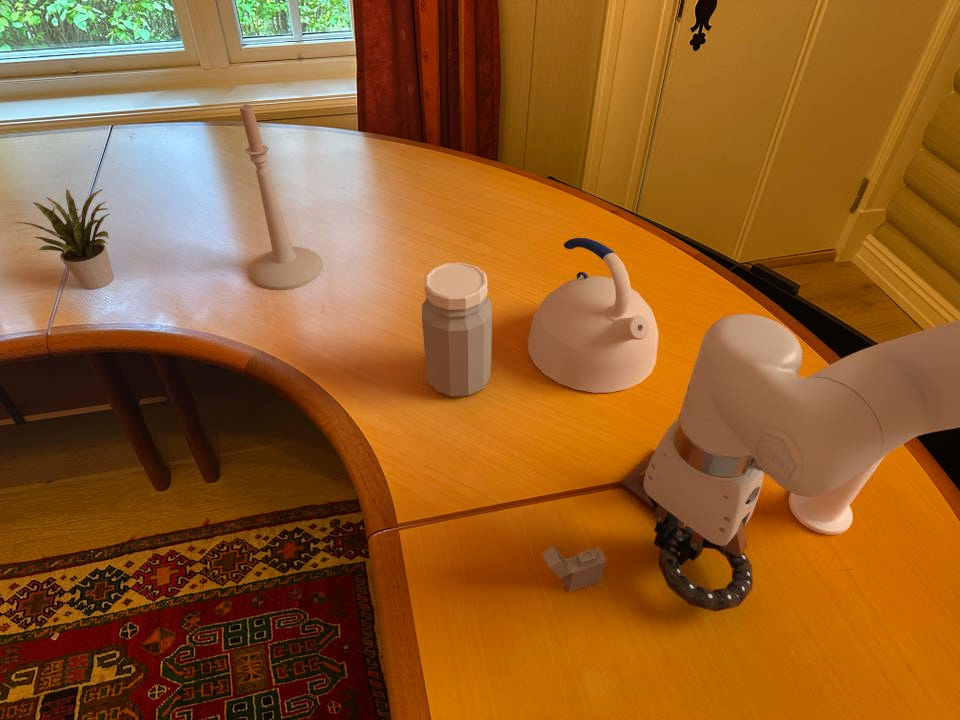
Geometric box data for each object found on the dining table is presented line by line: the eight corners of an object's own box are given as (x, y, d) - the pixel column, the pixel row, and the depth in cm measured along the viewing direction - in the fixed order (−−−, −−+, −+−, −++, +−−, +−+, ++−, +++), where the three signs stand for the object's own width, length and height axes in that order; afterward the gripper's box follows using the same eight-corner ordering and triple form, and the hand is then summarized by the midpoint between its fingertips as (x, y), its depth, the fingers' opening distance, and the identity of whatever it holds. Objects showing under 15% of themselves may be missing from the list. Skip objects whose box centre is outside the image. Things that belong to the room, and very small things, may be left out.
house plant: (159, 257, 115) (125, 176, 104) (132, 300, 105) (91, 216, 94) (82, 258, 114) (40, 177, 103) (47, 303, 104) (-4, 218, 93)
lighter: (594, 567, 68) (604, 528, 63) (601, 581, 67) (612, 543, 62) (536, 586, 67) (541, 548, 61) (542, 601, 65) (548, 563, 60)
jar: (436, 408, 86) (429, 308, 74) (418, 364, 93) (410, 265, 81) (500, 392, 89) (504, 293, 76) (478, 350, 95) (479, 253, 83)
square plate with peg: (721, 491, 76) (747, 434, 69) (679, 533, 72) (703, 477, 64) (661, 449, 81) (680, 391, 74) (619, 486, 77) (634, 429, 69)
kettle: (569, 412, 86) (584, 312, 74) (505, 327, 100) (509, 231, 87) (684, 372, 92) (716, 273, 80) (609, 297, 106) (626, 203, 94)
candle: (777, 488, 76) (863, 338, 59) (830, 483, 77) (930, 333, 60) (806, 538, 71) (908, 389, 54) (862, 532, 72) (981, 383, 55)
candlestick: (336, 268, 112) (305, 103, 92) (276, 298, 105) (228, 127, 85) (297, 243, 119) (259, 83, 98) (238, 270, 112) (185, 104, 91)
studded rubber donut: (766, 573, 65) (772, 563, 64) (717, 633, 61) (722, 624, 59) (689, 516, 71) (693, 506, 69) (639, 567, 66) (642, 557, 65)
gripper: (822, 468, 53) (758, 576, 65) (667, 375, 62) (637, 485, 74) (779, 518, 49) (720, 622, 61) (621, 411, 58) (597, 520, 70)
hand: (675, 546), depth 67 cm, fingers closed on studded rubber donut, 2 cm apart
